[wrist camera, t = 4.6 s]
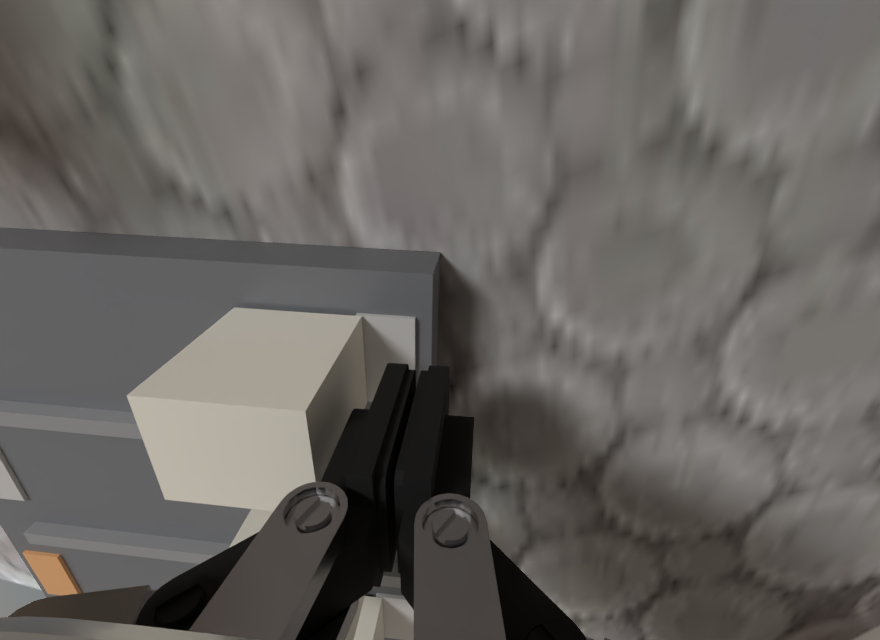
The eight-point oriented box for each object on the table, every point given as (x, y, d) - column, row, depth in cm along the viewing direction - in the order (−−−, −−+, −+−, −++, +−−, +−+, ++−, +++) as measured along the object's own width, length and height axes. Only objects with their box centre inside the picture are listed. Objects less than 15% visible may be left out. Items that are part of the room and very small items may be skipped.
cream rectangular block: (361, 316, 13) (305, 411, 9) (367, 402, 15) (320, 516, 11) (234, 307, 14) (126, 395, 10) (252, 392, 15) (164, 499, 11)
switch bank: (440, 252, 14) (430, 282, 12) (431, 612, 23) (424, 669, 21) (-108, 221, 16) (-208, 242, 14) (83, 569, 25) (41, 617, 23)
